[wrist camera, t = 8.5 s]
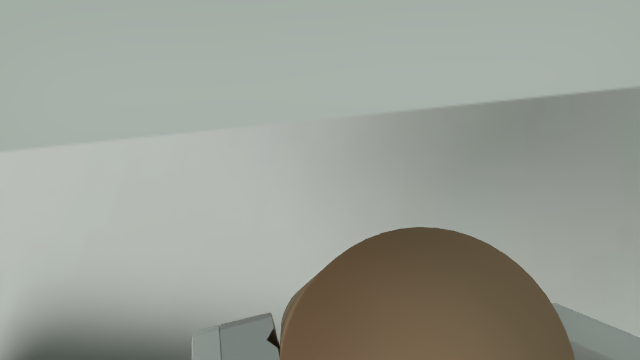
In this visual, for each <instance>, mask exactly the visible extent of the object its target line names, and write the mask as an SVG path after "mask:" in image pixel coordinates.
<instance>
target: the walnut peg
mask: <svg viewBox="0 0 640 360" xmlns="http://www.w3.org/2000/svg"><path fill="white" fill-rule="evenodd" d="M280 360H575V358H574V353H573V350H572V347H571V344H570V341H569V338H568V335H567V332H566V330H565V328H564V326H563V324H562V322H561V320H560V318H559V315H558V313H557V312H556V310H555V308H554V307H553V305H552V304H551V302H550V300H549V299H548V297H547V296H546V294H545V293H544V292H543V291H542V289H541V288H540V287H539V286H538V284H537V283H536V282H535V281H534V279H533V278H532V277H531V276H530V275H529V274H528V273H527V272H526V271H525V270H524V269H523V268H522V267H521V266H519V265H518V264H517V263H516V262H514V261H513V260H512V259H511V258H509V257H508V256H507V255H505V254H504V253H502V252H501V251H499V250H497V249H496V248H494V247H492V246H491V245H489V244H487V243H485V242H483V241H481V240H478V239H476V238H474V237H472V236H468V235H465V234H462V233H459V232H455V231H451V230H445V229H439V228H424V227H416V228H405V229H398V230H393V231H389V232H385V233H381V234H379V235H376V236H373V237H371V238H368V239H365V240H364V241H362V242H360V243H358V244H356V245H354V246H353V247H351V248H349V249H348V250H346V251H345V252H344V253H342V254H341V255H339V256H338V257H337V258H335V259H334V260H333V261H332V262H331V263H330V264H328V265H327V266H326V267H325V268H324V269H323V270H322V271H321V272H319V273H318V274H317V275H316V276H315V277H314V278H313V279H311V280H310V281H309V282H308V283H307V284H306V285H305V286H304V287H302V288H301V289H300V290H299V291H298V292H297V293H296V294H295V295H294V296H293V297H292V299H291V300H290V302H289V303H288V305H287V307H286V309H285V311H284V314H283V318H282V323H281V338H280Z"/></svg>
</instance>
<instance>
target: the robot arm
mask: <svg viewBox="0 0 640 360" xmlns="http://www.w3.org/2000/svg"><path fill="white" fill-rule="evenodd" d="M552 305H553V307H554V308H555V310H556V312H557V313H558V315H559V318H560V320H561V322H562V324H563V326H564V328H565V330H566V332H567V335H568V338H569V341H570V344H571V347H572V350H573V353H574V358H575V360H640V338H639V337H636V336H634V335H632V334H629V333H627V332H624V331H622V330H619V329H617V328H615V327H612V326H610V325H607V324H605V323H602V322H600V321H598V320H595V319H593V318H590V317H588V316H585V315H583V314H581V313H578V312H576V311H573V310H571V309H568V308H566V307H564V306H561V305H559V304H556V303H553V304H552ZM192 360H280V346H279V342H278V340H277V335H276V330H275V326H274V322H273V318H272V315H271V313H267V314H262V315H258V316H254V317H250V318H246V319H242V320H238V321H234V322H230V323H226V324H222V325H220V326H216V327H212V328H207V329H203V330H199V331H195V332H194V333H193V336H192Z"/></svg>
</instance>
